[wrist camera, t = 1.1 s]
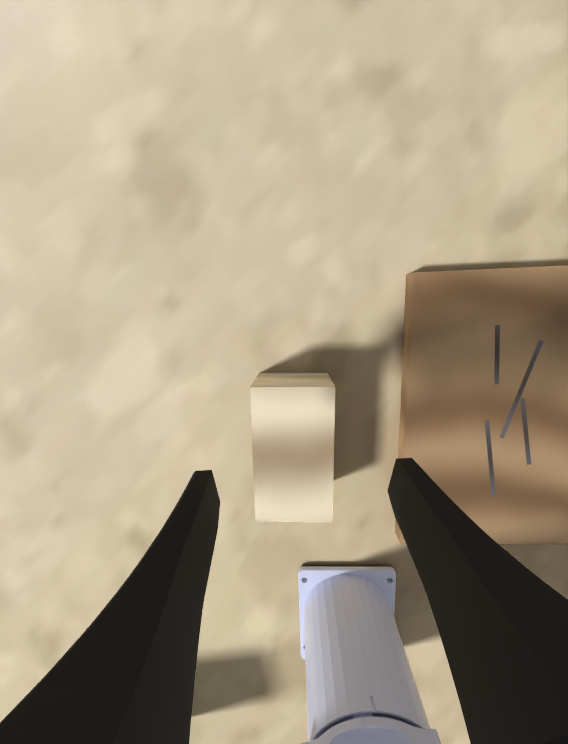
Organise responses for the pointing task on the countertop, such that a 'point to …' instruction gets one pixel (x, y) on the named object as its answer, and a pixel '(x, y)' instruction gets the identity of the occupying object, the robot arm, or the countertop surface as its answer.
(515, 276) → the oak board
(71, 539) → the countertop surface
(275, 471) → the block
